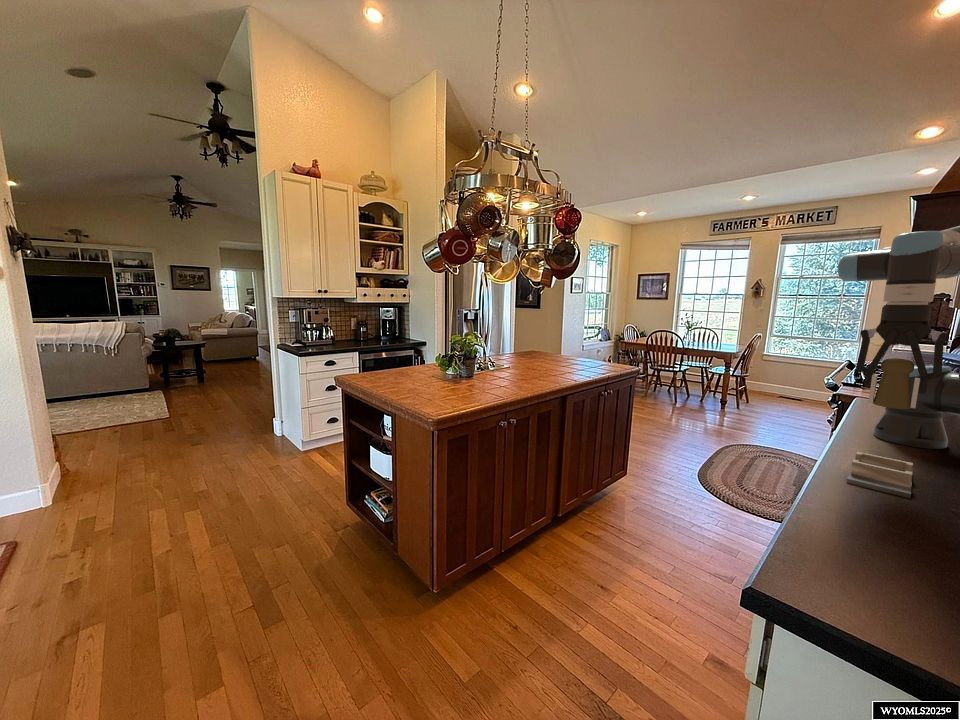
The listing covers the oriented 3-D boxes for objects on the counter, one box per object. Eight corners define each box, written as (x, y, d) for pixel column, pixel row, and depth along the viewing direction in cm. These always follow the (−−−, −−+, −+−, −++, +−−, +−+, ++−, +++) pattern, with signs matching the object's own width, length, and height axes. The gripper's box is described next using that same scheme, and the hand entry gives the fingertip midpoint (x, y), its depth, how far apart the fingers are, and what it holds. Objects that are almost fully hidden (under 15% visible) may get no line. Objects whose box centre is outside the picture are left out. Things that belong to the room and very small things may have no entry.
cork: (918, 409, 87) (926, 361, 85) (886, 408, 88) (893, 360, 86) (895, 402, 92) (902, 357, 91) (866, 401, 94) (872, 356, 92)
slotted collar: (855, 461, 102) (857, 447, 102) (911, 474, 95) (914, 458, 94) (846, 482, 91) (849, 466, 90) (910, 498, 83) (913, 480, 83)
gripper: (846, 304, 91) (834, 399, 95) (976, 303, 77) (956, 415, 81) (850, 303, 96) (838, 394, 100) (973, 303, 82) (954, 409, 86)
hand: (891, 403), depth 90 cm, fingers closed on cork, 6 cm apart
